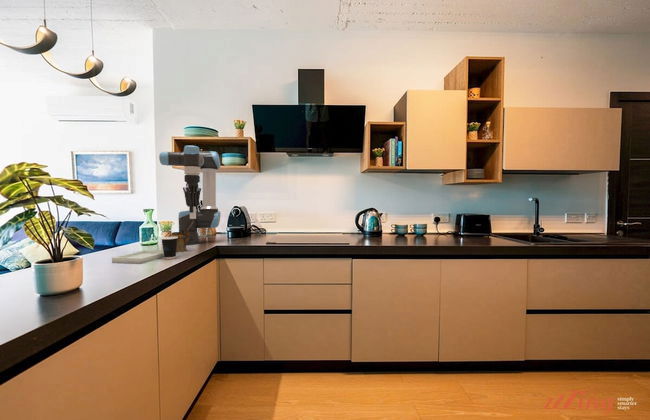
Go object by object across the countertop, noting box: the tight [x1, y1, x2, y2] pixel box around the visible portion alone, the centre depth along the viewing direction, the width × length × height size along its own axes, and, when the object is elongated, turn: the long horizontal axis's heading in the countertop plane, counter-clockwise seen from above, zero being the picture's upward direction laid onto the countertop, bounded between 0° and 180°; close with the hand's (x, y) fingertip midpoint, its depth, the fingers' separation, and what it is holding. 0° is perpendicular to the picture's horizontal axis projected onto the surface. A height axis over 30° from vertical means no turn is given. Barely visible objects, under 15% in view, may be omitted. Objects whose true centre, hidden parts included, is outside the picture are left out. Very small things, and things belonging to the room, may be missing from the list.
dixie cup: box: [160, 236, 178, 260], centre depth 145 cm, size 8×8×11 cm
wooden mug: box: [170, 221, 194, 253], centre depth 165 cm, size 9×14×18 cm, turn 112°
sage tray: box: [111, 249, 165, 265], centre depth 143 cm, size 20×16×2 cm
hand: (192, 218), depth 152 cm, fingers closed
